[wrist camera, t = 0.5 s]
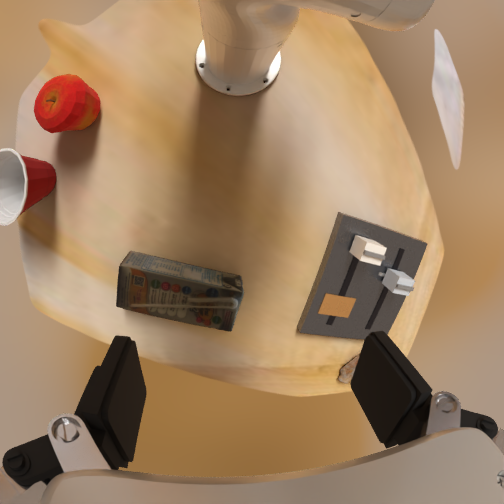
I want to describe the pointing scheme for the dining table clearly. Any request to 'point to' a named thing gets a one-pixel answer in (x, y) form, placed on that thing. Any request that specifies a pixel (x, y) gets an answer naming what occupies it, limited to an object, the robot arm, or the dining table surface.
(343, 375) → the rock
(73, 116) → the apple
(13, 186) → the plastic cup
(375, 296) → the console
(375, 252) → the fader cream
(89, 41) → the dining table surface
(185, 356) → the dining table surface
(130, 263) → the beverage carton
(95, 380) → the robot arm
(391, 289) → the white block
